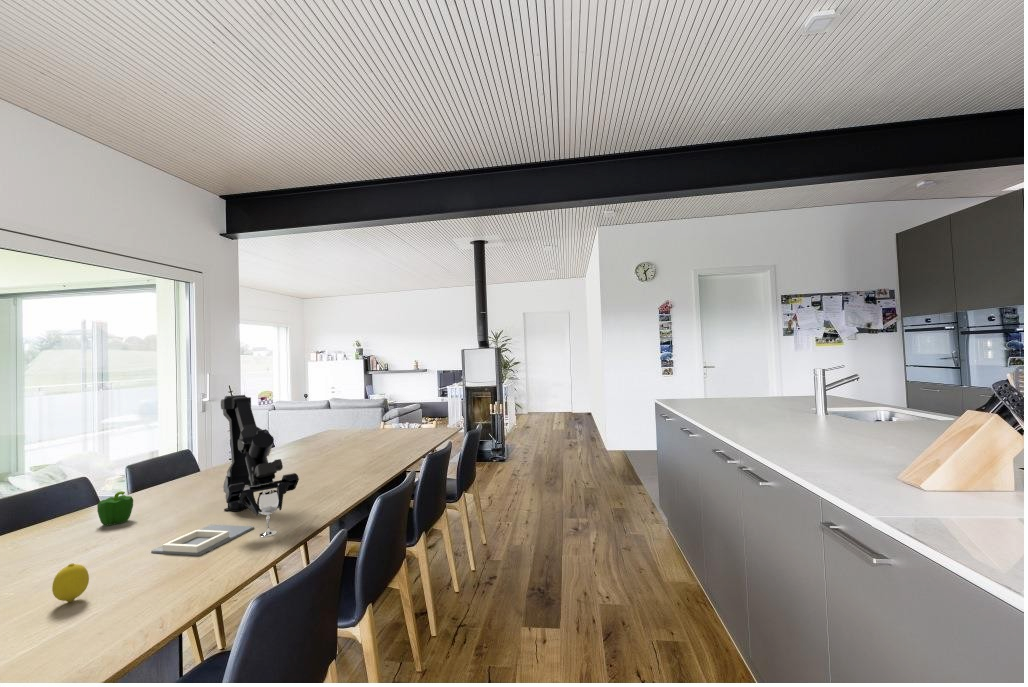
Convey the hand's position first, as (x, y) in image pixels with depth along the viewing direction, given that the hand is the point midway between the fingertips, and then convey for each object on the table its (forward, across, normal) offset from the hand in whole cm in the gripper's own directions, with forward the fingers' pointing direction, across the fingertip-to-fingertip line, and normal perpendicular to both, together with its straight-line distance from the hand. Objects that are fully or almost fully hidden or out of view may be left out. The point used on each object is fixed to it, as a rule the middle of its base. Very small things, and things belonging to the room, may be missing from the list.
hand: (269, 512), depth 130 cm
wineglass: (+4, 0, +6) cm, 7 cm away
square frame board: (-2, -14, +12) cm, 18 cm away
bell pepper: (-30, -32, +40) cm, 59 cm away
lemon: (+11, -41, -2) cm, 42 cm away
